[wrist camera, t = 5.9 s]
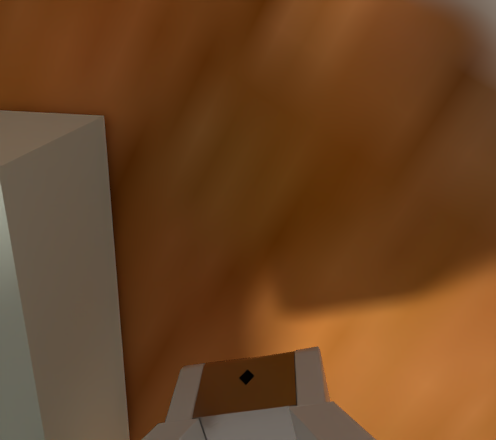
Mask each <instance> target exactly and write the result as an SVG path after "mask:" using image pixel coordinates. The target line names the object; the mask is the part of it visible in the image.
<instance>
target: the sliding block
mask: <svg viewBox="0 0 496 440" xmlns="http://www.w3.org/2000/svg"><path fill="white" fill-rule="evenodd" d="M0 440H130V437H129V424H128V411H127V399H126V386H125V373H124V361H123V348H122V335H121V323H120V310H119V297H118V285H117V272H116V259H115V247H114V234H113V221H112V209H111V196H110V183H109V170H108V158H107V145H106V132H105V120H104V116H102V115H83V114H63V113H44V112H24V111H5V110H0Z"/></svg>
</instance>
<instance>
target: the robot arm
mask: <svg viewBox="0 0 496 440" xmlns="http://www.w3.org/2000/svg"><path fill="white" fill-rule="evenodd" d="M142 440H376V439H375V438H374V437H372V436H371V435H370V434H369V433H368V432H367V431H366V430H365V429H364V428H362V427H361V426H360V425H359V424H358V423H357V422H356V421H355V420H353V419H352V418H351V417H350V416H349V415H348V414H347V413H346V412H345V411H343V410H342V409H341V408H340V407H339V406H338V405H337V404H336V403H335V402H330V398H329V393H328V388H327V382H326V377H325V372H324V367H323V362H322V357H321V353H320V349H319V347H312V348H306V349H300V350H296V351H293V352H286V353H280V354H273V355H266V356H259V357H253V358H242V359H234V360H225V361H217V362H208V363H206V364H205V363H202V364H194V365H187V366H184V367H183V368H182V369H181V370H180V373H179V376H178V380H177V383H176V386H175V390H174V393H173V397H172V400H171V403H170V407H169V410H168V414H167V417H166V420H165V423H158V424H157V425H156V426H155V427H154V428H153V429H152V430H151V431H150V432H149V433H148V434H147V435H146V436H145V437H144V438H143V439H142Z"/></svg>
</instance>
